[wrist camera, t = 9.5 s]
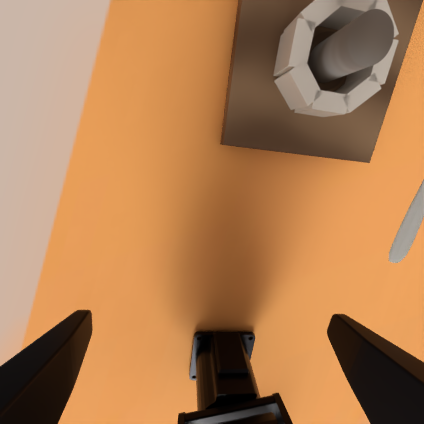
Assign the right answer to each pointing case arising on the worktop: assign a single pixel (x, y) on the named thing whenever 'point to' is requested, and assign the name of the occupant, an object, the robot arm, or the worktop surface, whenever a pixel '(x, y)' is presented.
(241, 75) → the peg stand
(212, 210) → the worktop surface
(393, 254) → the butter knife
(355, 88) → the ring
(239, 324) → the worktop surface
